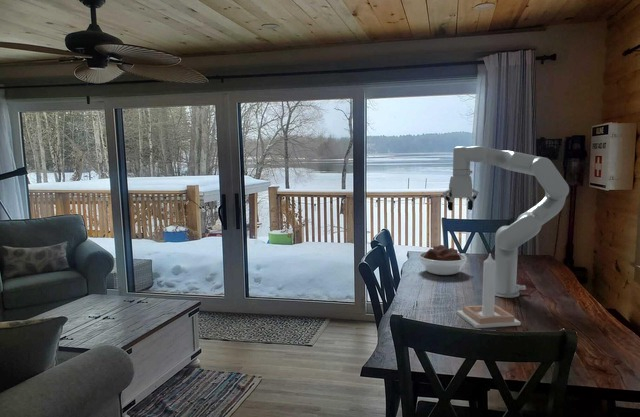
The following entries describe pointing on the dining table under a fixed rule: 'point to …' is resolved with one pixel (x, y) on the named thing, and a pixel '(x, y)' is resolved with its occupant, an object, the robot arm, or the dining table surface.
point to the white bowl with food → (442, 260)
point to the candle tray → (483, 322)
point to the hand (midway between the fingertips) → (460, 210)
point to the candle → (488, 288)
